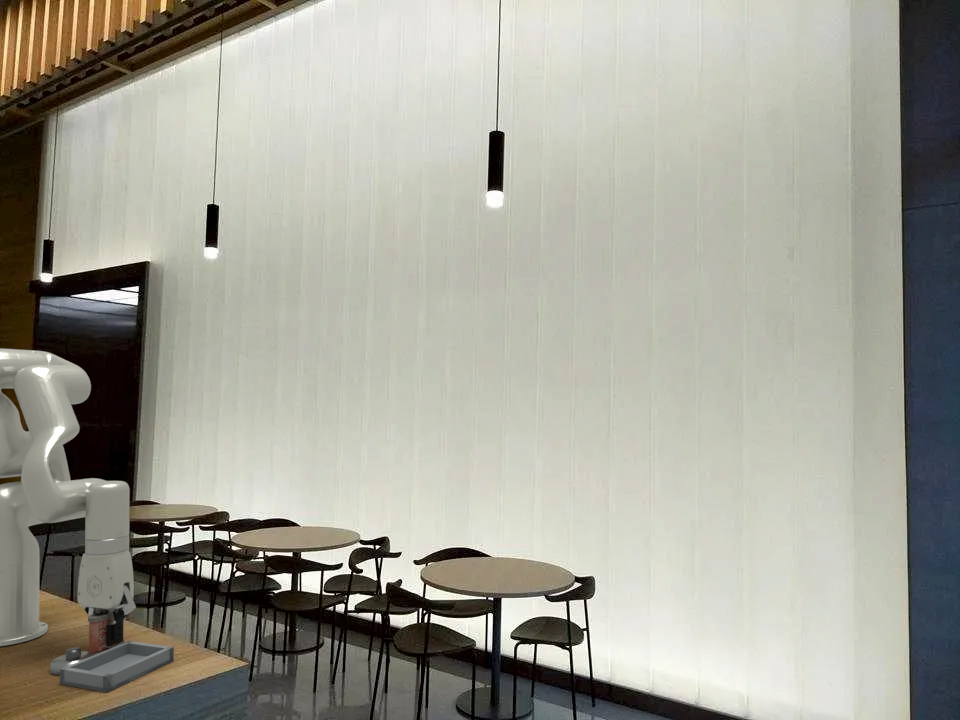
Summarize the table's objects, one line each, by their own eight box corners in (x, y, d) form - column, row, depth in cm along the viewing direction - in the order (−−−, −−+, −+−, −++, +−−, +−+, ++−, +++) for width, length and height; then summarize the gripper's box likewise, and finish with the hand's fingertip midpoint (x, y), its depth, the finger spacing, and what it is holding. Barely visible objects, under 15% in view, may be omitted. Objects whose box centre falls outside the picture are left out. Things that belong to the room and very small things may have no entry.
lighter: (98, 659, 127) (98, 604, 128) (82, 658, 128) (83, 603, 128) (129, 643, 135) (129, 592, 136) (114, 642, 136) (114, 591, 136)
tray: (59, 684, 116) (59, 669, 116) (129, 654, 129) (129, 640, 129) (107, 692, 112) (107, 676, 112) (173, 660, 125) (173, 647, 126)
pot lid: (41, 672, 122) (41, 654, 122) (77, 658, 128) (77, 640, 128) (69, 677, 119) (69, 658, 119) (104, 662, 126) (104, 644, 126)
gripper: (59, 547, 132) (58, 644, 131) (122, 553, 126) (122, 654, 125) (93, 539, 139) (92, 631, 138) (155, 544, 133) (155, 640, 132)
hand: (106, 641), depth 132 cm, fingers closed on lighter, 3 cm apart
